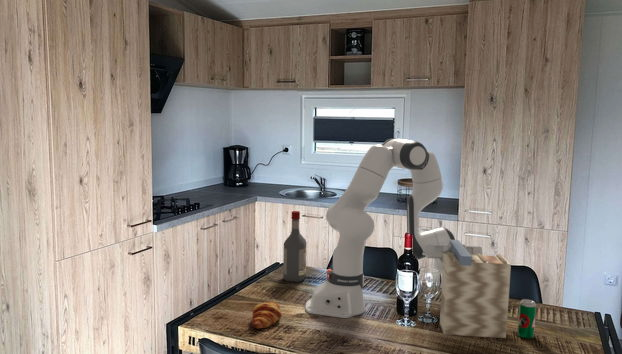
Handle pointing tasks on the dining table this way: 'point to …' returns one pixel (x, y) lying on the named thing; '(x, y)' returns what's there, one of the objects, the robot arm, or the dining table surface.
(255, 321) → the croissant
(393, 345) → the dining table surface
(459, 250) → the beam
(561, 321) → the dining table surface
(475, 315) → the zigzag patterned box
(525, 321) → the soda can
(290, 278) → the liquor
